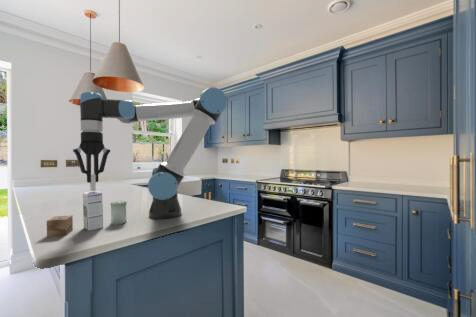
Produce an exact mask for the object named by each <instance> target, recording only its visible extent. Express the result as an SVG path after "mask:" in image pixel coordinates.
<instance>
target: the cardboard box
mask: <svg viewBox="0 0 476 317" xmlns="http://www.w3.org/2000/svg"><path fill="white" fill-rule="evenodd" d="M73 219H74V218H73V215H59V216H53V217H51V218H49V219H47V220H46V238H52V237H53V236H54V237H63V236H65V237H66V236H68V235H69V234H70V233H71V232H73V230H74V226H73V222H74V221H73Z"/></svg>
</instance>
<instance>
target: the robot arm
mask: <svg viewBox="0 0 476 317" xmlns="http://www.w3.org/2000/svg"><path fill="white" fill-rule="evenodd" d="M79 98H80V100H79V106H80V107H79V109H80V111H79V112H80V131H82V132H80V143H79V146H78V147H76V148H74V149H72V152H73V153H74V155H75V156H76V159H77V162H78V163H77V164H78V165H79V169H80V172H81V173H82V174H85V175H86V182H87V183H89V190H90V191H89V192H92V191H97V188H96V187H97V186H96V184H97V183H99V175H100V174H102V173H103V172H104V171H105V166H106V163H107V160H108V155H109V154H110V153H111V149H109V148H107V147H105V145H104V133H103V129H104V128H103V123H104V122H103V119H104V118H106V119H117V120H118V121H119V122H121V123H123V124H131V123H136V122H147V121H159V120H161V121H162V120H173V119H183V118H184V119H185V118H186V119H187V118H190V120H189V123H187V125H186V127H185V128H184V131H182V133H181V135H180V137H179V139H178V140H177V142H176V143H175V145H174V147H173V149H172V150H171V152H170V154H169V156H168V157H167V159H166V160H165V161H162V162H160V163H159V165H158V166H157V167H154V168H152V172H151V177H150V178H149V180H148V181H147V182H148V183H147V187H148V188H147V189H148V191H149V194H150V195H151V196H152V201H151V204H150V208H149V211H148V217H149V218H152V219H156V220H157V219H158V220H159V219H161V220H162V219H171V218H175V217H179V216H181V215H182V207H181V205H180V201H179V199H178V188H179V186H180V184H181V183H182V181H183V180H184V177H185V173H184V171H185V169H186V168H187V166H188V164H189V162H190V160H191V159H192V157H193V156H194V154H195V152H196V150H197V149H198V147H199V145H200V144H201V142H202V140H203V138H204V137H205V135H206V133H207V131H208V130H209V128H210V127H211V126H212V125H215V124H216V123H217V121H218V119H219V118H220V117H221V114H222V113H223V112H224V111H225V109H226V108H227V104H228V99H227V96H226V94H225V92H224V91H223V90H221V89H220V88H217V87H214V86H212V87H208V88H206V89H204V90H203V91H202V92H201V94H200V97H199V98H196V99H191V100H190V101H181V102H166V103H152V104H150V103H149V104H138V105H135V103H134V101H133V100H128V99H113V98H112V99H111V98H110V99H108V98H107V99H106V98H103V96H102V94H100V93H98V92H92V91H84V92H81V93H80V97H79ZM82 152H83V154H85V157H86V159H85V160H86V168H85V164H84V161H83V158H82V155H81V153H82ZM101 153H102V157H101V162H100V164H99V154H101ZM92 155H93V173H92ZM99 165H100V166H99Z"/></svg>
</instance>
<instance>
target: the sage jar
mask: <svg viewBox="0 0 476 317" xmlns="http://www.w3.org/2000/svg"><path fill="white" fill-rule="evenodd" d="M127 204H128V201H126V200H118V201H117V200H115V201H112V202H110V204H109V206H110V218H111V219H110V224H111V225H121V224H125V223H127Z"/></svg>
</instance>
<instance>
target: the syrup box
mask: <svg viewBox="0 0 476 317" xmlns="http://www.w3.org/2000/svg"><path fill="white" fill-rule="evenodd" d="M103 205H104V204H103V192H101V191H99V190H98V191H97V190H96V191H86V192H83V193H82V207H83V208H82V209H83V210H82V212H83V217H82V218H83V229H85V230H86V231H93V230H95V231H96V230H99V229H103V228H104V206H103Z"/></svg>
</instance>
